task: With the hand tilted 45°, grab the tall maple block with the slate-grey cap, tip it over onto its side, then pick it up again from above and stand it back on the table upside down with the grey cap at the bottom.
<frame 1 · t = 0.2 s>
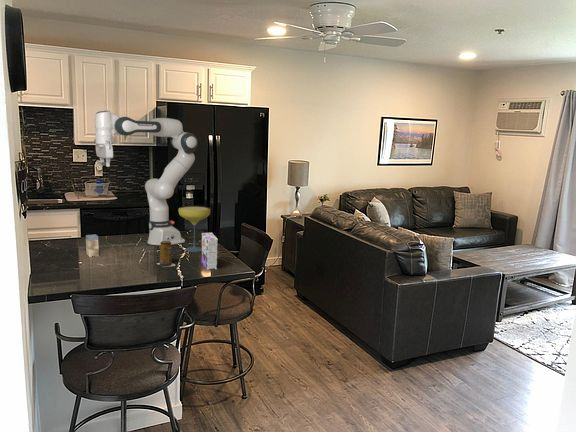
hand: (105, 165, 253), 48 cm above the kitchen island, tool pointing down, fingers open, 8 cm apart
condiment: (166, 265, 237), on the kitchen island
flip block: (92, 255, 247), on the kitchen island
cocktail glass: (194, 249, 268), on the kitchen island
candy box: (209, 266, 238), on the kitchen island
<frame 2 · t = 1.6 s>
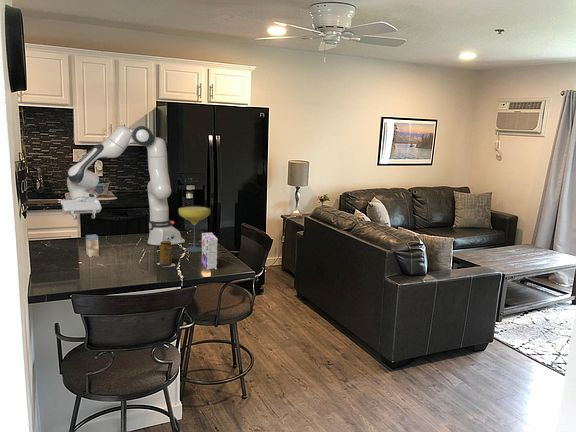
hand: (84, 218, 253), 18 cm above the kitchen island, tool tilted 45°, fingers open, 8 cm apart
nothing on the kitchen island moved.
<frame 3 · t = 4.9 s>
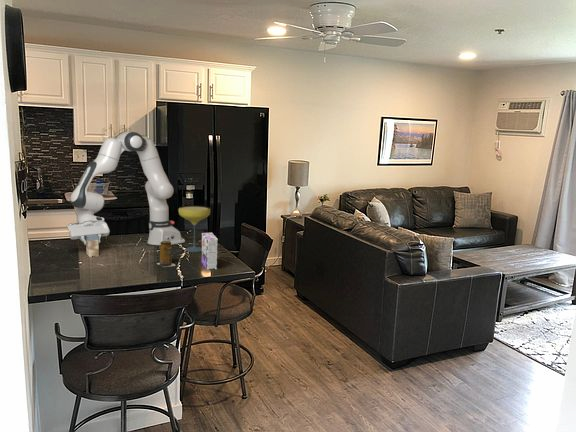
hand: (92, 243, 245), 7 cm above the kitchen island, tool tilted 45°, fingers closed on flip block, 5 cm apart
flip block: (92, 255, 247), on the kitchen island, touching gripper
everything else where it was.
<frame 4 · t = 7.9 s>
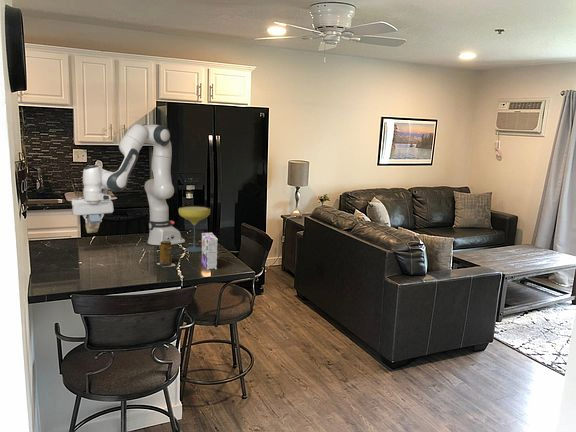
hand: (93, 222, 241), 19 cm above the kitchen island, tool pointing down, fingers closed on flip block, 5 cm apart
flip block: (91, 228, 246), point 15 cm above the kitchen island, tilted 45°, touching gripper
everything else where it was.
when the fingers open (8 cm above the kitchen island, at t = 10.8 s): flip block moves 2 cm and tips over, point 2 cm above the kitchen island.
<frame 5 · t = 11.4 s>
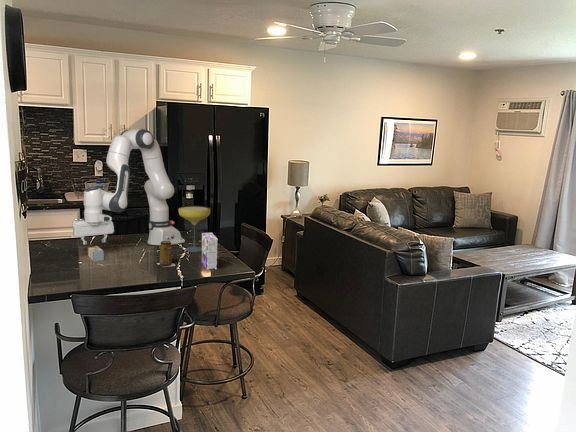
hand: (94, 243, 243), 8 cm above the kitchen island, tool pointing down, fingers open, 8 cm apart
flip block: (92, 251, 246), point 2 cm above the kitchen island, tilted 90°
everything else where it was.
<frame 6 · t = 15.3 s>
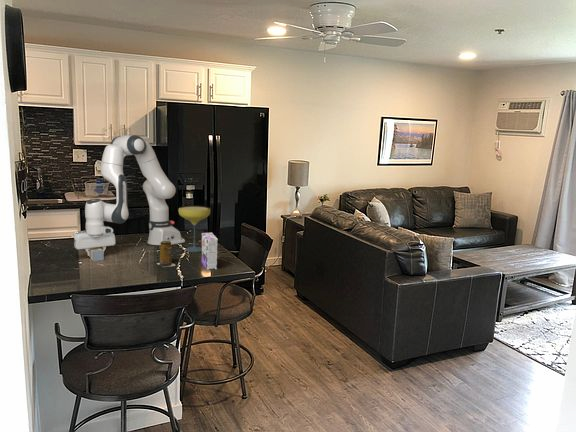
hand: (95, 255, 242), 2 cm above the kitchen island, tool pointing down, fingers closed on flip block, 5 cm apart
flip block: (92, 251, 246), point 2 cm above the kitchen island, tilted 90°, touching gripper
everything else where it was.
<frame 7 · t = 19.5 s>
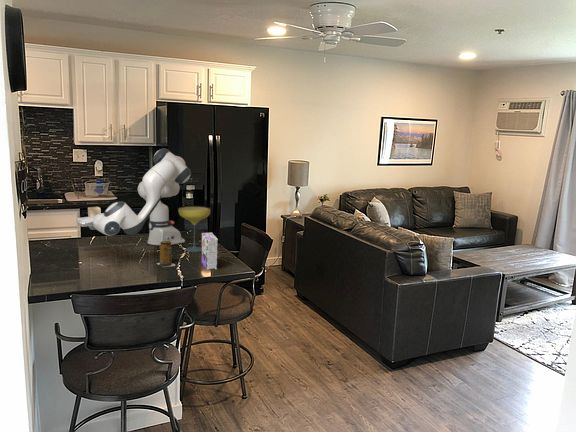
hand: (94, 217, 238), 22 cm above the kitchen island, tool horizontal, fingers closed on flip block, 5 cm apart
flip block: (94, 207, 237), point 27 cm above the kitchen island, tilted 179°, touching gripper
everything else where it was.
when the fingers open (8 cm above the kitchen island, at t = 22.9 s): flip block drops 2 cm, point 11 cm above the kitchen island.
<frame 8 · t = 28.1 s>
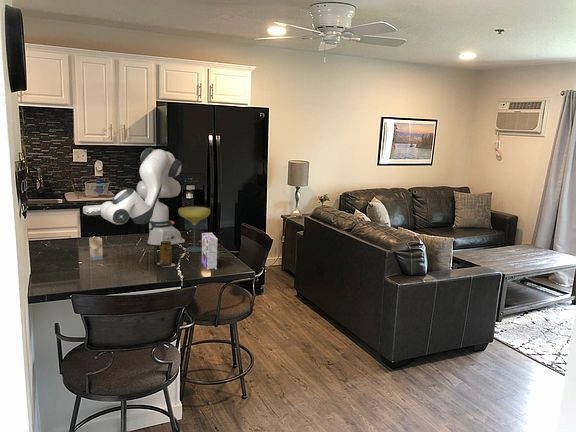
hand: (101, 206, 227), 30 cm above the kitchen island, tool horizontal, fingers open, 8 cm apart
flip block: (95, 238, 240), point 11 cm above the kitchen island, tilted 180°
everything else where it was.
at the end: flip block tilted 180°; flip block inside the target area (0.3 cm from its centre), point 11.0 cm above the kitchen island; the gripper is holding nothing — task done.
